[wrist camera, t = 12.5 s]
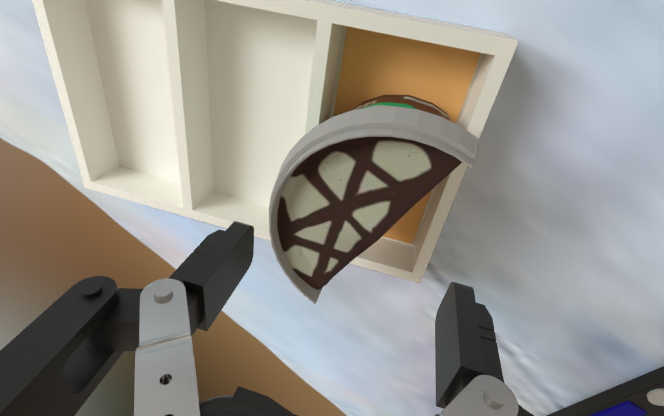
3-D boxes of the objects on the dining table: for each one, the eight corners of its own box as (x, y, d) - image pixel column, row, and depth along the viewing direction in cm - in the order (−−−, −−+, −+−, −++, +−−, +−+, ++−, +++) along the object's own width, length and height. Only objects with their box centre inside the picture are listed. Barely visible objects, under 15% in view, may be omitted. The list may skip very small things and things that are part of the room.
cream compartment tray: (120, 171, 33) (85, 190, 30) (74, -48, 24) (16, -55, 20) (420, 253, 29) (419, 286, 26) (504, 33, 20) (518, 41, 17)
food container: (388, 26, 20) (358, 49, 12) (464, 94, 21) (485, 157, 13) (284, 168, 27) (219, 244, 19) (346, 215, 28) (309, 308, 20)
